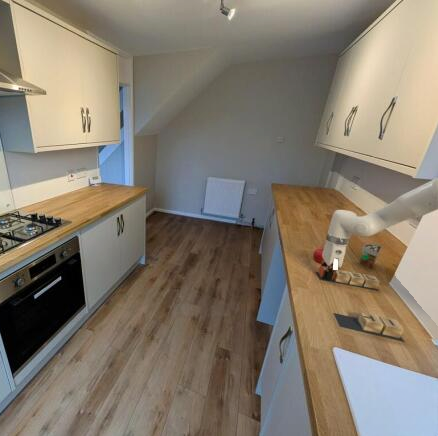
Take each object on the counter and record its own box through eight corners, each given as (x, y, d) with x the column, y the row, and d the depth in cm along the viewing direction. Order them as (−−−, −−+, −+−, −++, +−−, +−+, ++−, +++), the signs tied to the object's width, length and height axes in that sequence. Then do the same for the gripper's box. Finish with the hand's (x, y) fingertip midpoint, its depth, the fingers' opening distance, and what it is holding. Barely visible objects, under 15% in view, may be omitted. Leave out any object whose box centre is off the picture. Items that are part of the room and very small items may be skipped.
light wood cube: (371, 283, 102) (374, 275, 101) (376, 289, 99) (379, 281, 97) (359, 280, 104) (362, 273, 103) (363, 286, 100) (366, 279, 99)
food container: (359, 257, 124) (365, 240, 121) (375, 262, 120) (382, 244, 116) (354, 265, 117) (360, 247, 113) (370, 271, 112) (377, 252, 109)
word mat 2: (392, 327, 80) (393, 326, 80) (404, 343, 74) (405, 342, 74) (332, 314, 86) (333, 312, 85) (339, 328, 80) (339, 326, 79)
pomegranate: (307, 259, 122) (311, 243, 119) (320, 256, 125) (325, 240, 122) (326, 269, 113) (332, 252, 110) (340, 265, 117) (346, 248, 114)
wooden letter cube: (357, 280, 104) (360, 273, 103) (362, 286, 100) (364, 278, 99) (345, 278, 106) (348, 271, 104) (349, 284, 102) (352, 276, 100)
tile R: (343, 278, 106) (346, 271, 104) (347, 283, 102) (350, 276, 101) (332, 276, 107) (334, 269, 106) (335, 281, 103) (337, 274, 102)
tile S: (329, 274, 107) (331, 267, 106) (332, 279, 104) (335, 272, 102) (318, 272, 109) (320, 265, 108) (320, 277, 105) (323, 270, 104)
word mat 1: (370, 282, 104) (371, 281, 103) (378, 292, 98) (379, 291, 97) (314, 272, 111) (315, 271, 110) (319, 281, 105) (319, 279, 104)
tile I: (392, 328, 79) (396, 319, 78) (399, 338, 75) (404, 329, 74) (375, 324, 80) (379, 315, 79) (382, 334, 76) (386, 325, 75)
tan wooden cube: (373, 324, 81) (377, 315, 79) (380, 333, 77) (384, 324, 75) (357, 320, 82) (361, 311, 81) (363, 329, 78) (367, 321, 77)
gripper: (356, 249, 91) (342, 288, 98) (340, 232, 106) (329, 268, 112) (333, 246, 94) (320, 284, 100) (321, 230, 108) (310, 264, 115)
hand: (325, 275), depth 106 cm, fingers closed on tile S, 4 cm apart
